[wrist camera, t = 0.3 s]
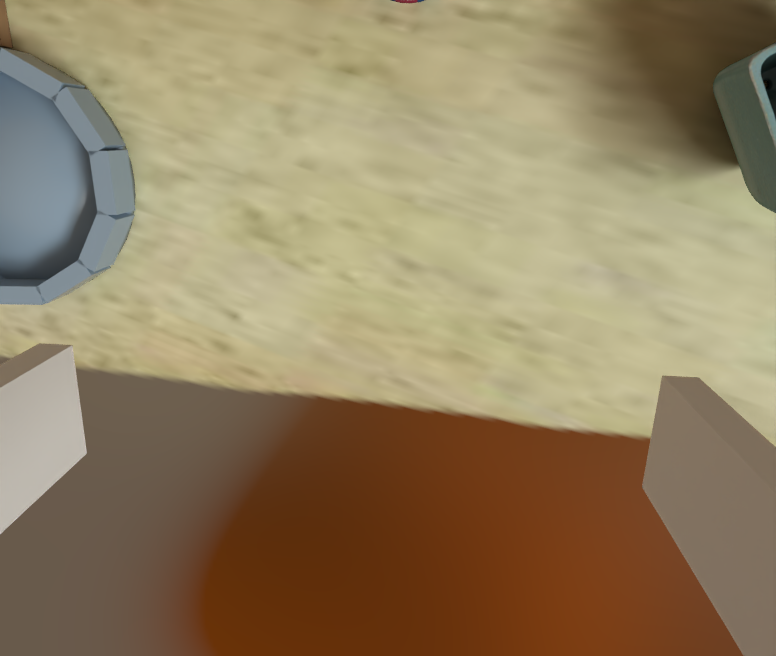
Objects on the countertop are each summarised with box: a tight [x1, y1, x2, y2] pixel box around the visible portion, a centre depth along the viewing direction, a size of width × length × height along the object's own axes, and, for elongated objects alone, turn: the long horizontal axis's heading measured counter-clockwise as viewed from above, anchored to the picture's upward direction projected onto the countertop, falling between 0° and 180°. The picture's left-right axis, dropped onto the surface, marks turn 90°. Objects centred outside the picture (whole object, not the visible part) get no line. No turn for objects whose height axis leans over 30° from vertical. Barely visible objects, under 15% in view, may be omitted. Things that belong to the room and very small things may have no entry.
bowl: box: [0, 47, 135, 305], centre depth 39 cm, size 15×15×3 cm
